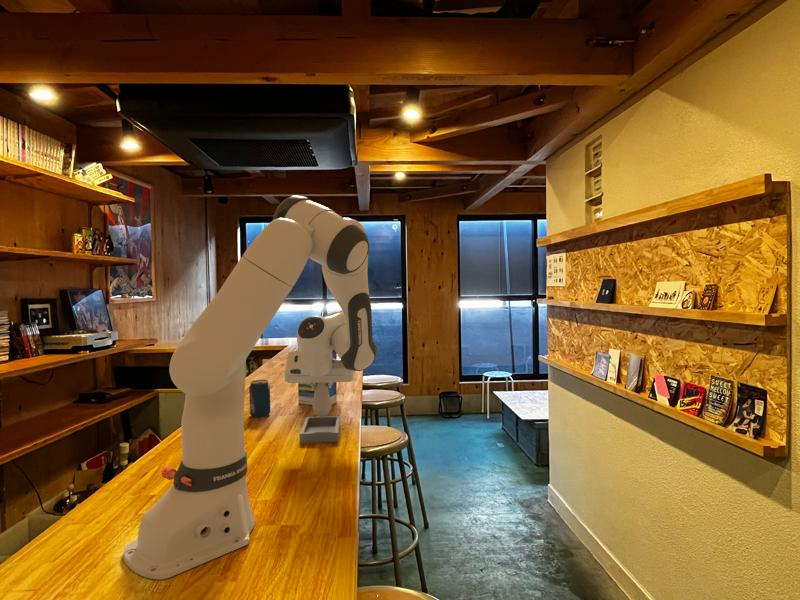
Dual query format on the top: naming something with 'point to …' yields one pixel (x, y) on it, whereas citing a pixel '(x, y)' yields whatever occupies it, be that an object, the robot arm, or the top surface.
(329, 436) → the trough
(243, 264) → the robot arm
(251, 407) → the soda can
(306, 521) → the top surface
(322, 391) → the salt shaker
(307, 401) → the string lights box
